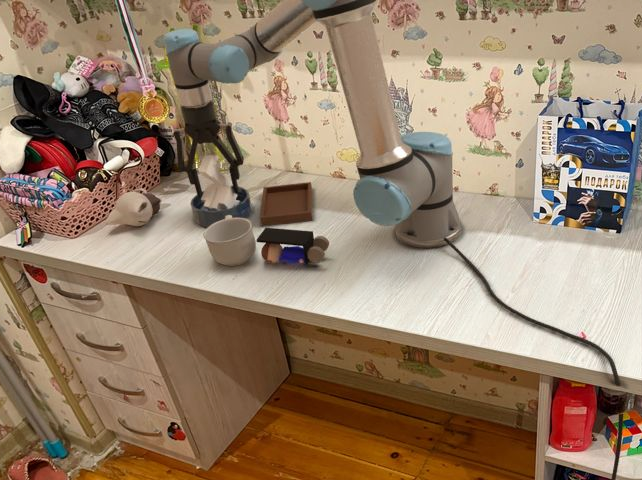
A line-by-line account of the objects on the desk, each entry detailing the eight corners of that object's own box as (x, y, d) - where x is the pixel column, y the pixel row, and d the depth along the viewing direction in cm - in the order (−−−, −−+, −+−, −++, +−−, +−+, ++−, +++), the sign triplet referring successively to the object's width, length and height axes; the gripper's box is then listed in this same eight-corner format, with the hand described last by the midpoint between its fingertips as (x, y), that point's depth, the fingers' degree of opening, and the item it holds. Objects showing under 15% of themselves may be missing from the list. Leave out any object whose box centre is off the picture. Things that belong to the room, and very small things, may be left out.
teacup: (254, 270, 155) (247, 238, 150) (206, 273, 156) (197, 241, 151) (263, 239, 166) (257, 208, 161) (219, 242, 167) (211, 211, 162)
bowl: (250, 224, 173) (246, 208, 170) (191, 231, 172) (186, 214, 169) (253, 198, 184) (250, 182, 181) (198, 204, 184) (194, 189, 181)
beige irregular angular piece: (252, 180, 180) (220, 149, 166) (236, 222, 178) (203, 193, 164) (230, 177, 183) (197, 146, 169) (214, 217, 181) (179, 190, 167)
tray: (312, 220, 172) (311, 212, 170) (261, 226, 171) (259, 217, 170) (312, 189, 186) (311, 181, 184) (265, 195, 185) (263, 187, 184)
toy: (144, 224, 187) (106, 239, 174) (128, 192, 184) (89, 206, 172) (180, 210, 181) (143, 225, 168) (165, 177, 178) (127, 190, 166)
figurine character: (330, 260, 159) (267, 252, 160) (330, 231, 154) (264, 223, 156) (323, 276, 154) (258, 267, 155) (322, 246, 149) (255, 238, 151)
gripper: (243, 92, 164) (261, 182, 178) (153, 102, 163) (178, 191, 177) (241, 103, 158) (259, 195, 172) (147, 113, 157) (173, 204, 171)
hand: (218, 193), depth 175 cm, fingers closed on beige irregular angular piece, 8 cm apart
